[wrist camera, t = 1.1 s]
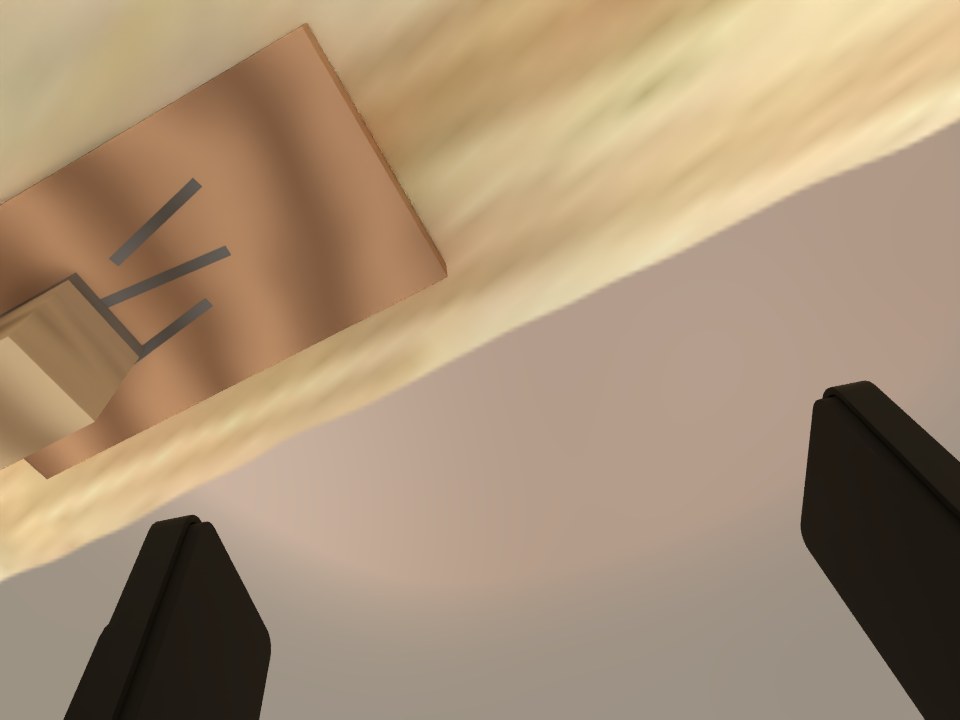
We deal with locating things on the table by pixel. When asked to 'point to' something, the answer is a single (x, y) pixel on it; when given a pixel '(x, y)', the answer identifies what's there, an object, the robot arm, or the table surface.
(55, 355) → the block
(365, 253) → the board
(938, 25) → the table surface
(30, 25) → the table surface
